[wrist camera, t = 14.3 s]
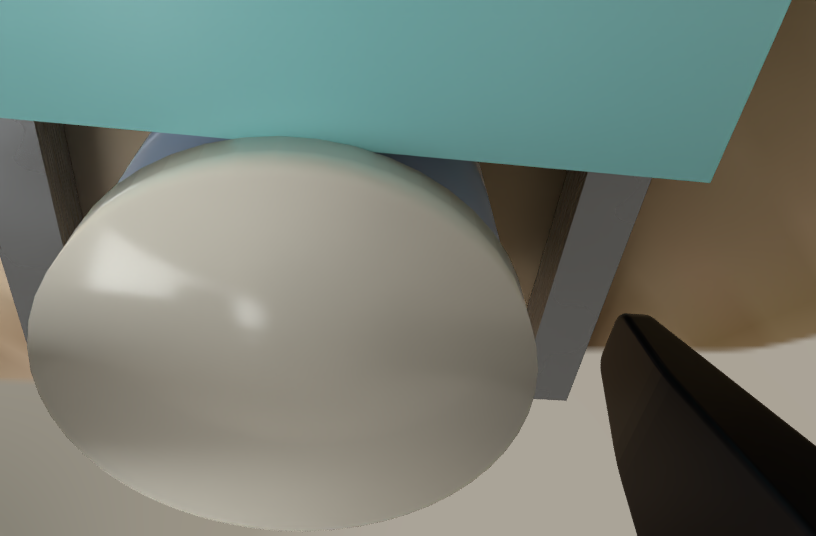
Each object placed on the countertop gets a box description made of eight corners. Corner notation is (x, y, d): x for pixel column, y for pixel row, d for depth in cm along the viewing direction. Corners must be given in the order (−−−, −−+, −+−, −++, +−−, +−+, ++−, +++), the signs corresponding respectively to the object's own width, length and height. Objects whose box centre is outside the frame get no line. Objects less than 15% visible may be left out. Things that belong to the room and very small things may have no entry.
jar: (424, 318, 14) (444, 553, 10) (148, 260, 13) (35, 499, 9) (530, 66, 11) (629, 252, 7) (175, -41, 10) (14, 102, 5)
